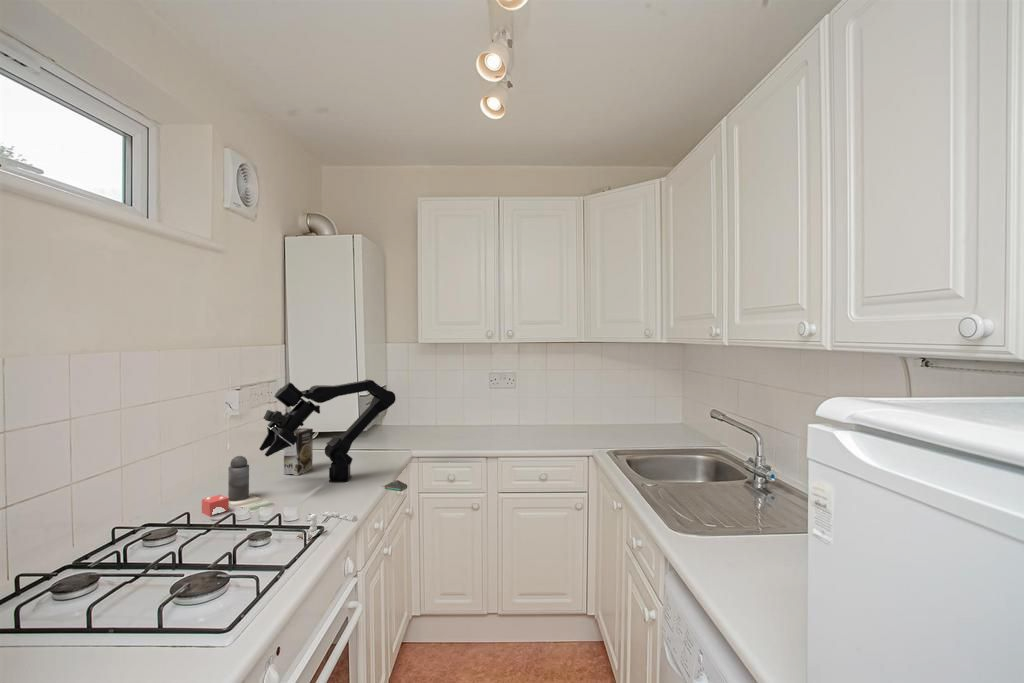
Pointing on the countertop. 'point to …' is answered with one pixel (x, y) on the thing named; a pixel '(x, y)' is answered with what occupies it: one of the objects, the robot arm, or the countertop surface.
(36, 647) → the countertop surface
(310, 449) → the coffee box
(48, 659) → the countertop surface
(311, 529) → the game pieces
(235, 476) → the pawn
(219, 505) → the red arch block
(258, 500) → the game track
